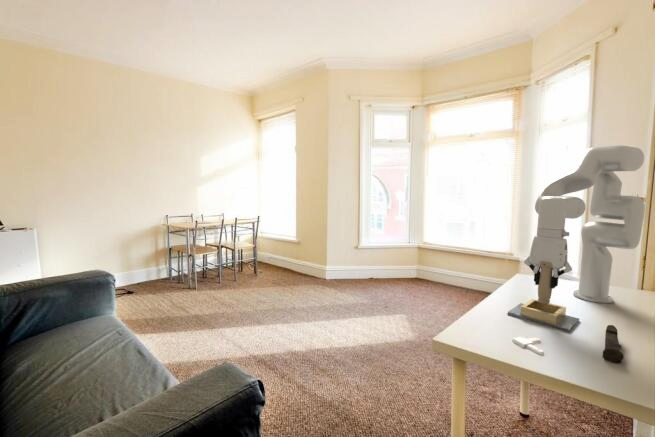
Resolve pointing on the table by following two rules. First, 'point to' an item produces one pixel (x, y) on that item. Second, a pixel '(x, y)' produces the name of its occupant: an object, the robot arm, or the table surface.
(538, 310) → the collar base
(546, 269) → the handle
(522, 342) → the corner connector
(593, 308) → the table surface
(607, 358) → the dark brown carved statuette
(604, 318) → the table surface
